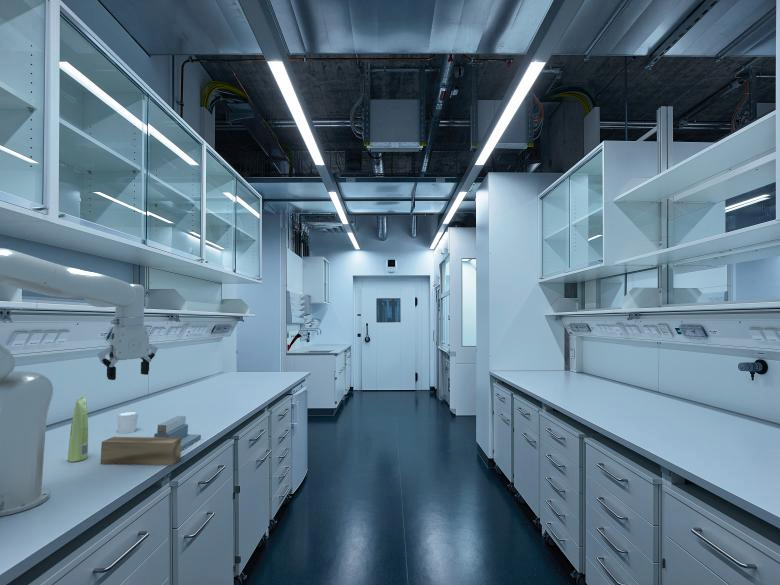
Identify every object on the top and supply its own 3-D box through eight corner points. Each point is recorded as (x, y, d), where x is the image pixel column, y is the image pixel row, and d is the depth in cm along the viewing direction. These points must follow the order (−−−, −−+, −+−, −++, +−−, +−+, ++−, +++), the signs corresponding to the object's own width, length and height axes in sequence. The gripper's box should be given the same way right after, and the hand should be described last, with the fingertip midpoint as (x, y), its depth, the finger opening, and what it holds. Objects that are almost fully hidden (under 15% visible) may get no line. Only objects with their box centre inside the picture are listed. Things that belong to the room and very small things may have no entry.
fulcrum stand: (179, 451, 129) (180, 426, 129) (138, 451, 129) (139, 425, 130) (200, 438, 143) (201, 415, 143) (163, 438, 143) (164, 414, 144)
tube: (62, 460, 120) (66, 397, 121) (81, 455, 125) (85, 394, 126) (73, 463, 118) (77, 399, 119) (91, 458, 122) (95, 396, 124)
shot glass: (111, 433, 148) (112, 415, 148) (127, 428, 154) (128, 410, 155) (126, 434, 146) (127, 416, 147) (141, 429, 153) (142, 412, 153)
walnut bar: (171, 466, 117) (172, 442, 118) (100, 464, 118) (101, 441, 118) (180, 460, 122) (181, 437, 123) (112, 458, 123) (113, 436, 123)
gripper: (105, 324, 112) (104, 383, 112) (163, 321, 127) (163, 373, 127) (92, 323, 115) (90, 380, 115) (150, 321, 131) (149, 371, 130)
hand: (128, 376), depth 121 cm, fingers open, 9 cm apart
